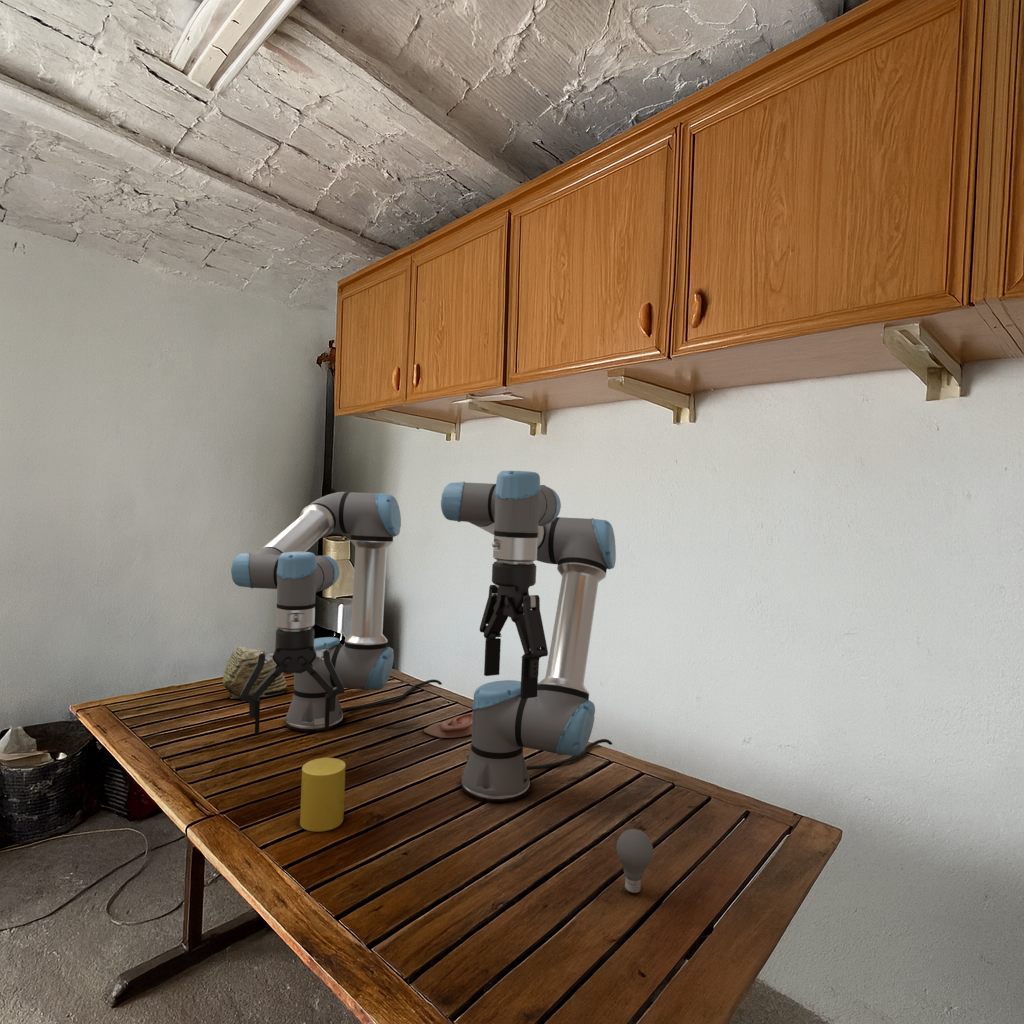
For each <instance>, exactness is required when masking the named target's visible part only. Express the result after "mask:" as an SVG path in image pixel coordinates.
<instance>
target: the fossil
mask: <svg viewBox="0 0 1024 1024" xmlns="http://www.w3.org/2000/svg"><path fill="white" fill-rule="evenodd" d="M261 651H264V652H265V650H264V649H263V648H260V647H258V648H251V647H247V646H246V647H245V646H238V647H237V648H236V649H235V650H233V651H232V653H231V656H230V657H229V659H228V660H227V663H226V666H225V668H224V671H223V675H222V676H223V677H222V685H223V687H224V688H225V690H226V691H228V693H229V698H230V699H240V694H241V691H242V690H243V688H244V686H245V684H246V682H247V681H248V679H249V677H250V675H251V673H252V672H253V670H254V668H255V666H256V664H257V663H258V658H259V653H260V652H261ZM276 665H277V664H276V663H275V662H274V661H273V659H270V660H269V662H268V663H267V664H264V666H263V669H262V671H261V672H260V674H259V676H258V678H257V680H256V681H255V683H254V685H253V687H252V689H251V690H250V692H249V693H253V691H254V690H255V689H256V688H257V687H258V686H259V685H260V684H261V683H262V681H263V680H264V679H265V678H266V677H267V676H268V675H269V674H270V672H271V671H272V670H273V669H274V667H275V666H276ZM287 687H288V686H287V680H286V678H285V676H284V674H283V672H282V673H281V674H280V675H279V676H278V677H277V678H276V679H275V680H274V681H273V682H272V683H271V685H270V686H269V687H268V688H267V689H266V690H265V691H264V692H263V693H262V695H261V696H260V697H259V698H264V697H271V696H275V695H281V694H284V693H285V691H286V689H287Z"/></svg>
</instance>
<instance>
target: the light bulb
mask: <svg viewBox="0 0 1024 1024" xmlns="http://www.w3.org/2000/svg"><path fill="white" fill-rule="evenodd" d="M615 849H616V854H617V857H618V859H619V861H620V863H621V865H622V867H623V873H624V874H623V875H624V876H625V878H624V888H625V890H627V891H628V892H630V893H634V894H635V893H639V892H640V891H641V889H642V887H641V886H642V879H643V877H644V875H645V871H646V868H647V867H648V866H649V864H650V863H651V861H652V859H653V855H654V847H653V843H652V841H651V838H649V836H648V835H647V834H646V833H645V832H643V831H642V830H641V829H636V828H629V829H627V830H625V831H623V832H622V833H621V834H620V835H619V837H618V839H617V841H616V847H615Z"/></svg>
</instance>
